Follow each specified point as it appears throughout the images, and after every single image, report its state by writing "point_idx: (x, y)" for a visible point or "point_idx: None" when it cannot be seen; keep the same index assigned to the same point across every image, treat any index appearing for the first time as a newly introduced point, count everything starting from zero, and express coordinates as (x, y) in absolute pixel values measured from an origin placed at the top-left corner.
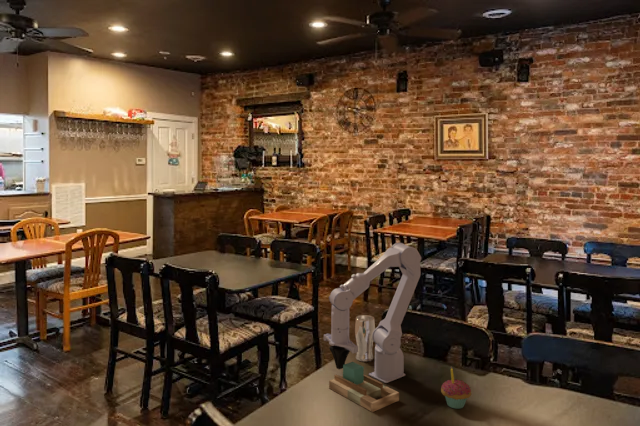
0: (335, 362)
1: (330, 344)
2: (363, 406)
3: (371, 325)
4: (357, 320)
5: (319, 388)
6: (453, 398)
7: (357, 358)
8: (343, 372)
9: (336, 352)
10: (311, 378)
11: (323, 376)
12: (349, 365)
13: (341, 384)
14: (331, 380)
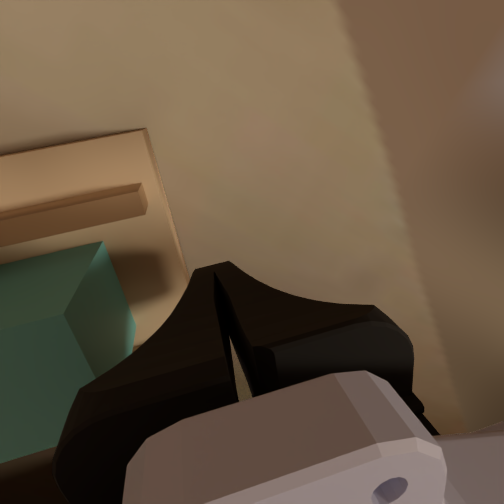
0: (237, 275)
1: (271, 408)
2: None
3: None
4: None
5: (176, 54)
6: None
7: None
8: (79, 272)
9: (168, 361)
10: (348, 92)
11: (328, 185)
12: (15, 371)
13: (19, 191)
14: (136, 151)
